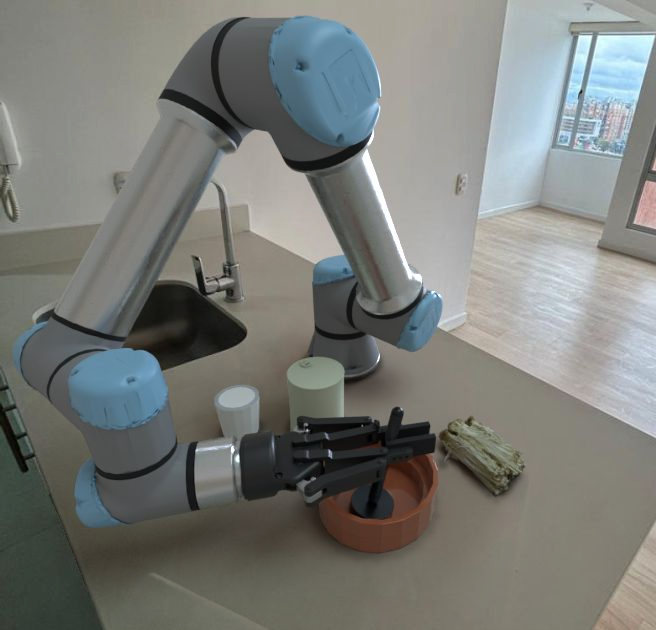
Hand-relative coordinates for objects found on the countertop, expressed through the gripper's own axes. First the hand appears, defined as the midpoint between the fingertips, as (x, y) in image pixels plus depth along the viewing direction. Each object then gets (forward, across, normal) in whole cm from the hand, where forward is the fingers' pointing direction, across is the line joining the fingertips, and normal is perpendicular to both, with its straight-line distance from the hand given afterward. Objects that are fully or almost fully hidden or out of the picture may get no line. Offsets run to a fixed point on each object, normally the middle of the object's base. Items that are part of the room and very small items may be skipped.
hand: (431, 436), depth 59 cm
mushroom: (+12, -5, -13) cm, 18 cm away
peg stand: (-8, 0, -11) cm, 14 cm away
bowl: (-7, -2, -12) cm, 14 cm away
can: (-13, -19, -13) cm, 27 cm away
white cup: (-25, -21, -13) cm, 36 cm away
